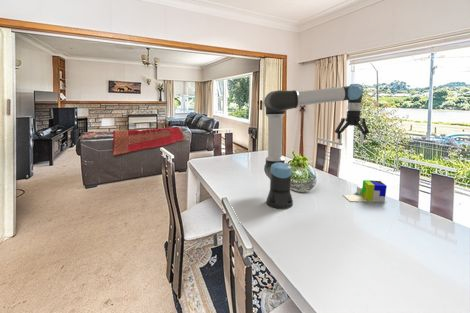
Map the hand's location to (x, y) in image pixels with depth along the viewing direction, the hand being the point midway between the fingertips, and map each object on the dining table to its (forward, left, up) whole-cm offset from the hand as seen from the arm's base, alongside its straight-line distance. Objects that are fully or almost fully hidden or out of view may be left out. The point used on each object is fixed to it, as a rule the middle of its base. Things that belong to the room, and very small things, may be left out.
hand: (350, 144), depth 159 cm
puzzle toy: (+14, -8, -33) cm, 36 cm away
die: (+11, +2, -33) cm, 35 cm away
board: (+8, -8, -33) cm, 35 cm away
